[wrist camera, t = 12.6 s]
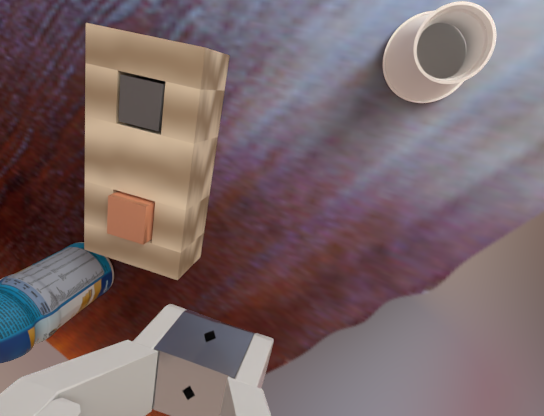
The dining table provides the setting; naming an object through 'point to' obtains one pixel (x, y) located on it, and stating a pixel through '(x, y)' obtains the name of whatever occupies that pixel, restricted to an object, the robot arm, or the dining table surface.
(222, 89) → the maple housing
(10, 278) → the beverage bottle
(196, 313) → the robot arm
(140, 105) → the charcoal plug
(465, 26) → the vase
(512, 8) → the dining table surface
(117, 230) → the terracotta plug
